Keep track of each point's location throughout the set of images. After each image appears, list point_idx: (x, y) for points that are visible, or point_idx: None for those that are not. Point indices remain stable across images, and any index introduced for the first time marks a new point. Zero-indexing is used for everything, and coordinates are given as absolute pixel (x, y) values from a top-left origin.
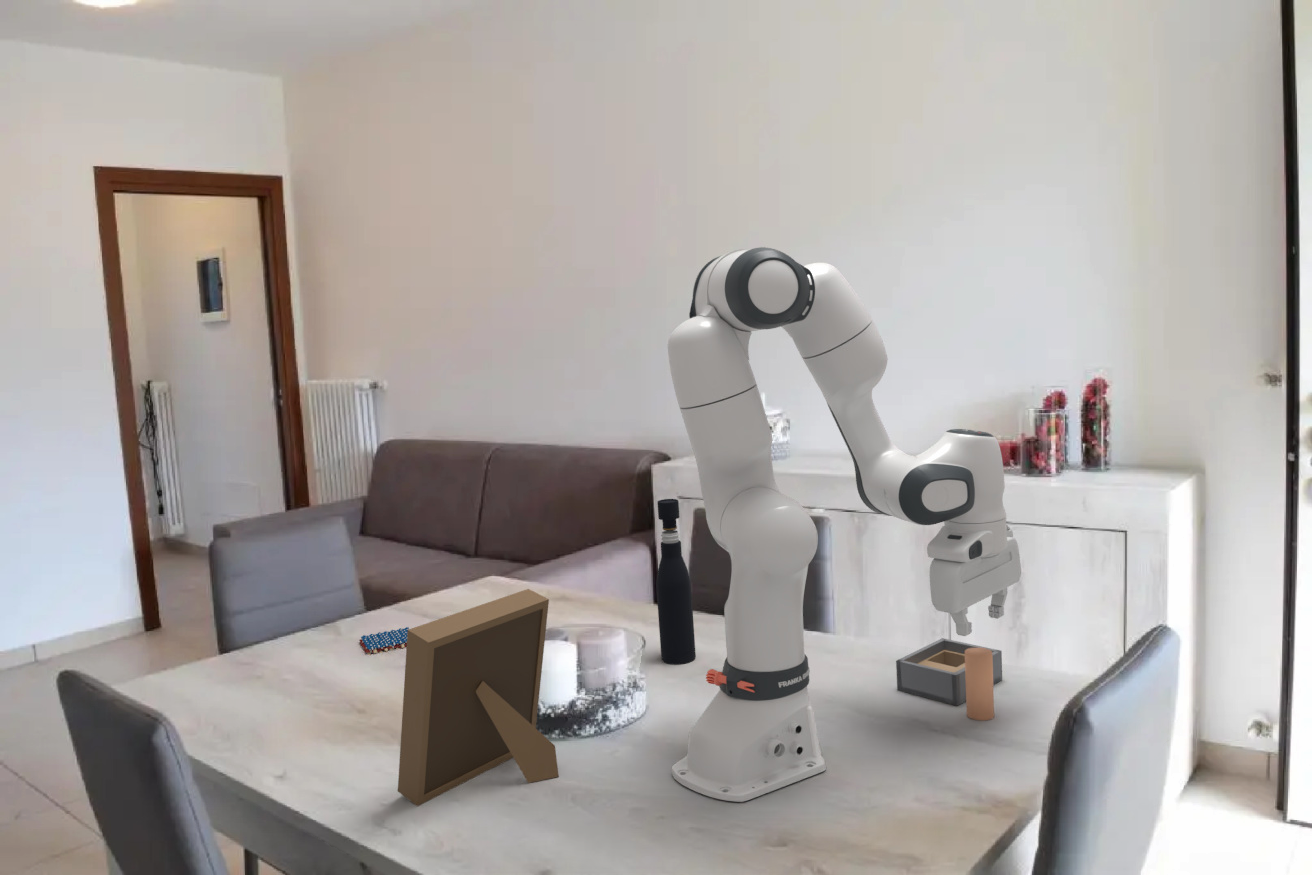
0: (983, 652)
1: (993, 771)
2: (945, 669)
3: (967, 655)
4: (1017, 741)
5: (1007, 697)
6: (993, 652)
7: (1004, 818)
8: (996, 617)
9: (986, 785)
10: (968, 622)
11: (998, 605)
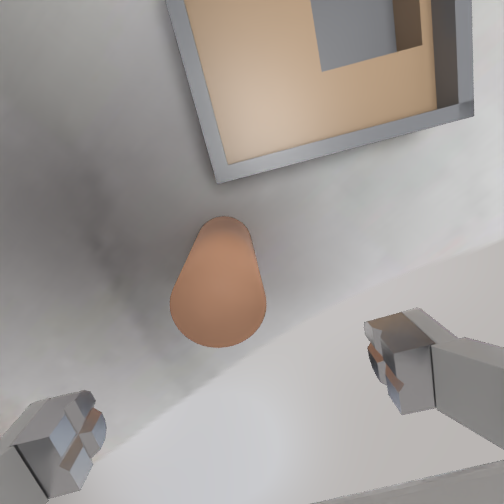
0: (228, 319)
1: None
2: (284, 63)
3: (170, 299)
4: (193, 356)
5: (338, 209)
6: (445, 111)
7: None
8: (371, 355)
9: None
10: (65, 482)
11: (436, 393)
